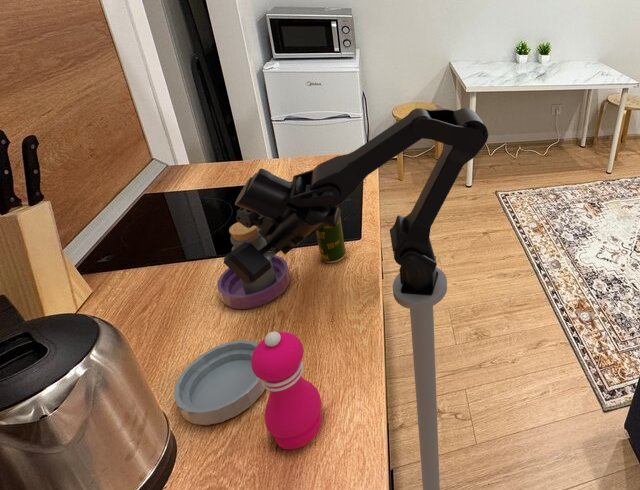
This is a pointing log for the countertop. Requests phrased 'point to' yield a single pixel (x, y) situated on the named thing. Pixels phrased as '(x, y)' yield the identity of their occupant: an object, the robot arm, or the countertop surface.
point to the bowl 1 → (237, 297)
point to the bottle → (255, 238)
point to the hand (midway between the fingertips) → (261, 255)
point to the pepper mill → (287, 390)
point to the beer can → (331, 243)
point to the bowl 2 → (218, 384)
